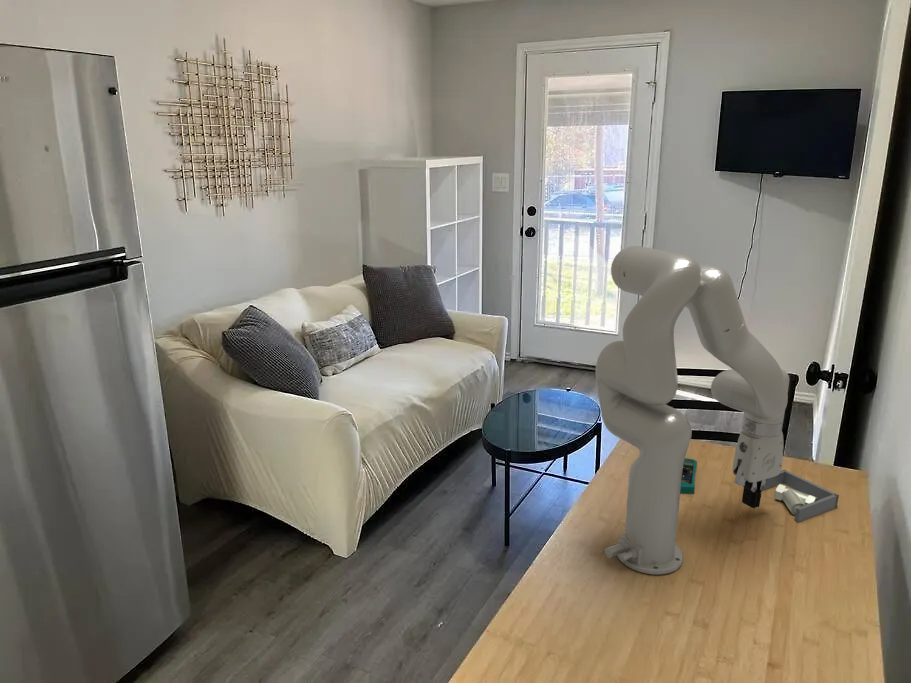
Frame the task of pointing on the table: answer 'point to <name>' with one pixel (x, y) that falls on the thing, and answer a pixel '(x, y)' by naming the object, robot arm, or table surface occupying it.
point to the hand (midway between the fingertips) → (750, 504)
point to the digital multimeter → (688, 476)
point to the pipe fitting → (793, 497)
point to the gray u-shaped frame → (825, 496)
